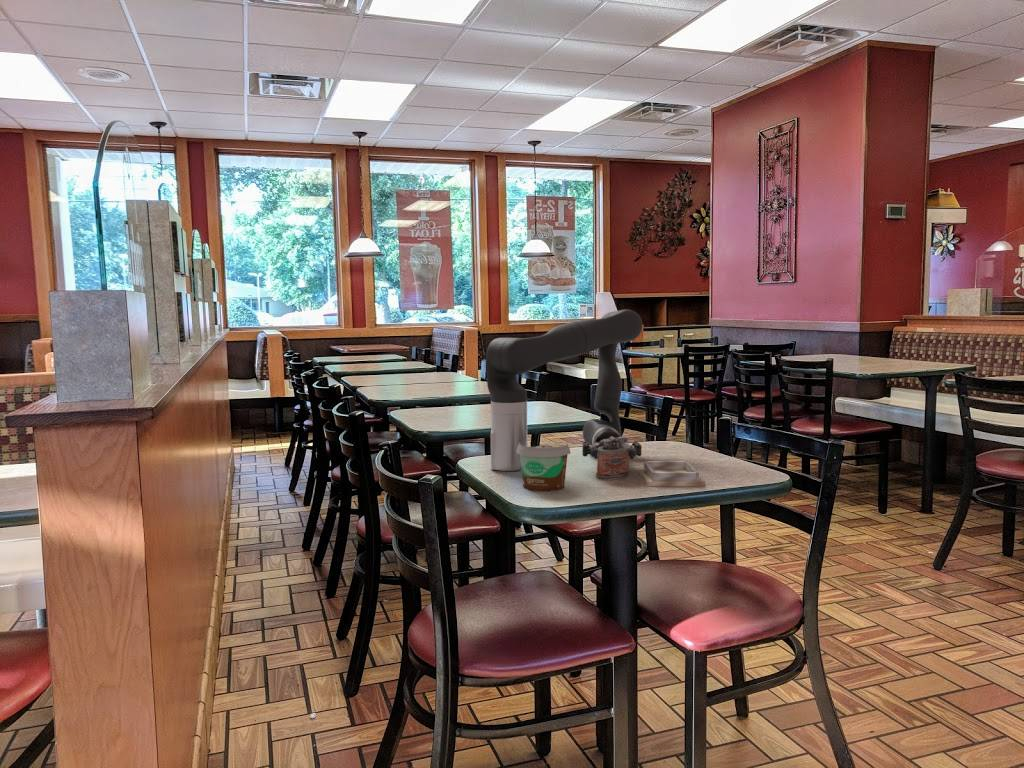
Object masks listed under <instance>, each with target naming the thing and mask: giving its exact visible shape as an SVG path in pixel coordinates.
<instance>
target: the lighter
mask: <svg viewBox="0 0 1024 768" xmlns="http://www.w3.org/2000/svg"><path fill="white" fill-rule="evenodd" d="M628 441H629V438H628V437H627V436H626V435H625V436H621V437H618V438H614V437H613V436H611V437H610V438H609V439H603V446H600V447H598V450H597V452H598V457H597V464H596V465H597V466H596V473H595V478H596V479H597V480H600V481H607V480H608V481H609V480H611V481H612V480H617V479H618V480H619V479H623V478H627V477H628V476H629V471H628V470H629V459H630V457H629V451H630V446H629V445H630V444H629V445H627V444H622V443H629V442H628Z"/></svg>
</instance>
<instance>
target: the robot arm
mask: <svg viewBox="0 0 1024 768" xmlns="http://www.w3.org/2000/svg"><path fill="white" fill-rule="evenodd" d="M642 330H643V319H642V318H641V316H640V315H639V314H638V313H637V312H636V311H634V310H633V309H632V310H631V309H625V308H624V309H620V310H614V311H611V312H610V311H609V312H607V313H605V314H604V315H602V317H601V318H593V319H584V320H578V321H576V320H575V321H573V322H572V321H571V322H566V323H563V324H560V325H557V326H555V327H553V328H550V330H549V331H547V332H546V333H545V334H542V335H539V336H532V337H498V338H497V337H496V338H494V339H493V340H491V342H490V343H489V344H488V346H487V349H486V356H485V368H486V386H487V390H488V393H489V395H490V424H491V425H490V427H491V430H490V470H494V471H495V470H496V471H502V472H503V471H504V472H510V471H511V472H512V471H521V462H520V454H517V447H518V445H519V442H520V445H522V446H527V447H528V391H527V390H526V389H525V388H524V386H522V385H521V384H519V382H518V380H517V375H523V374H525V373H527V372H529V371H531V370H534V369H536V368H538V367H541V366H543V365H546V364H548V363H553V362H559V361H564V360H567V359H572V358H575V357H579V356H582V355H584V354H587V353H589V352H594V351H595V350H598V372H597V373H598V374H597V383H596V390H595V397H594V401H593V402H594V403H593V408H594V410H595V411H596V412H599V413H600V414H602V415H604V416H607V418H608V419H609V421H608V420H607V421H606V420H603V419H597V418H591V419H588V420H586V422H585V423H584V425H583V427H582V436H583V440H584V441H583V442H582V457H588V455H589V456H590V457H591V458H593V459H594V460H598V452H597V450H598V447H600V446H603V439H609V438H610V437H611V436H613V437H614V438H618V437H622V427H621V422H620V421H621V420H620V404H621V403H620V402H621V398H622V397H621V396H622V389H623V387H622V386H623V383H622V377H621V374H620V372H619V368H618V365H617V362H616V361H617V360H616V353H617V348H618V345H619V344H623V343H627V342H632V341H634V340H636V339H637V338H638V337H639V336H640V335H641V333H642ZM622 444H627V445H629V446H630V451H629V459H630V460H631V459H635V457H637V456H638V457H641V456H643V455H642V446H643V445H642V444H641V443H639V442H638V441H633V442H632V443H631V444H629V442H627V443H622Z"/></svg>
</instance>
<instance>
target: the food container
mask: <svg viewBox="0 0 1024 768" xmlns="http://www.w3.org/2000/svg"><path fill="white" fill-rule="evenodd" d="M517 454H520V462H521V470H520V472H521V478H522V480H521V481H522V487H523V489H525V490H528V491H532V492H540V493H541V492H544V493H545V492H556V491H557V492H558V491H560V490H562V489H564V488H565V484H566V483H565V482H566V473H567V472H566V471H567V463H568V455H570V454H571V448H570V446H569V444H568V443H567V444H565V445H561V446H549V445H536V446H528V445H527V446H522V445H520V442H519V445H518V447H517Z"/></svg>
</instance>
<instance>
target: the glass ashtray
mask: <svg viewBox="0 0 1024 768" xmlns="http://www.w3.org/2000/svg"><path fill="white" fill-rule="evenodd" d="M638 474H639V476H640V477H641V479H642V481H643V482H644V484H645V485H646V487H706V481H705V480H704V479H703V478H702V477H701V476H700V472H699V471H698V470H697V469H696V468H695V467H694V466H693V465H692V464H691V463H690V462H689V461H687V460H670V461H669V460H666V461H665V460H663V461H661V460H657V461H656V460H655V461H654V460H651V461H650V460H649V461H648V460H646V461H645V460H644V461H643V468H642V469H641V468H639V469H638Z"/></svg>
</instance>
